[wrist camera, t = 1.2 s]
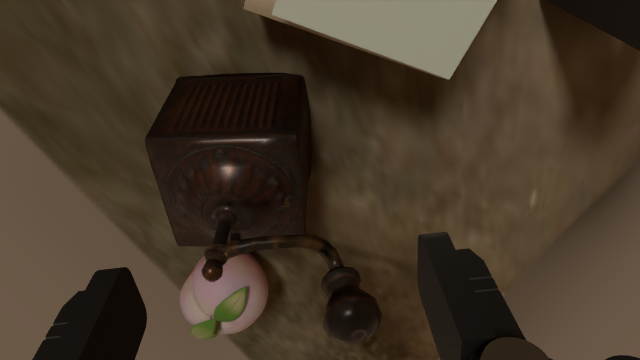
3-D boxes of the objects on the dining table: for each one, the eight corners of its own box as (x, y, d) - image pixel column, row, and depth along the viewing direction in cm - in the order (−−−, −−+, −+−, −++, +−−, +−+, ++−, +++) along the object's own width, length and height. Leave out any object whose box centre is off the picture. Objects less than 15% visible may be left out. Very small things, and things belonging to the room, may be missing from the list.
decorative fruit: (250, 288, 54) (237, 369, 46) (184, 264, 52) (158, 345, 44) (288, 242, 49) (280, 324, 41) (217, 212, 46) (194, 294, 39)
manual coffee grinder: (202, 180, 44) (142, 356, 30) (175, 73, 37) (80, 238, 23) (365, 178, 43) (382, 356, 29) (370, 69, 36) (394, 235, 22)
